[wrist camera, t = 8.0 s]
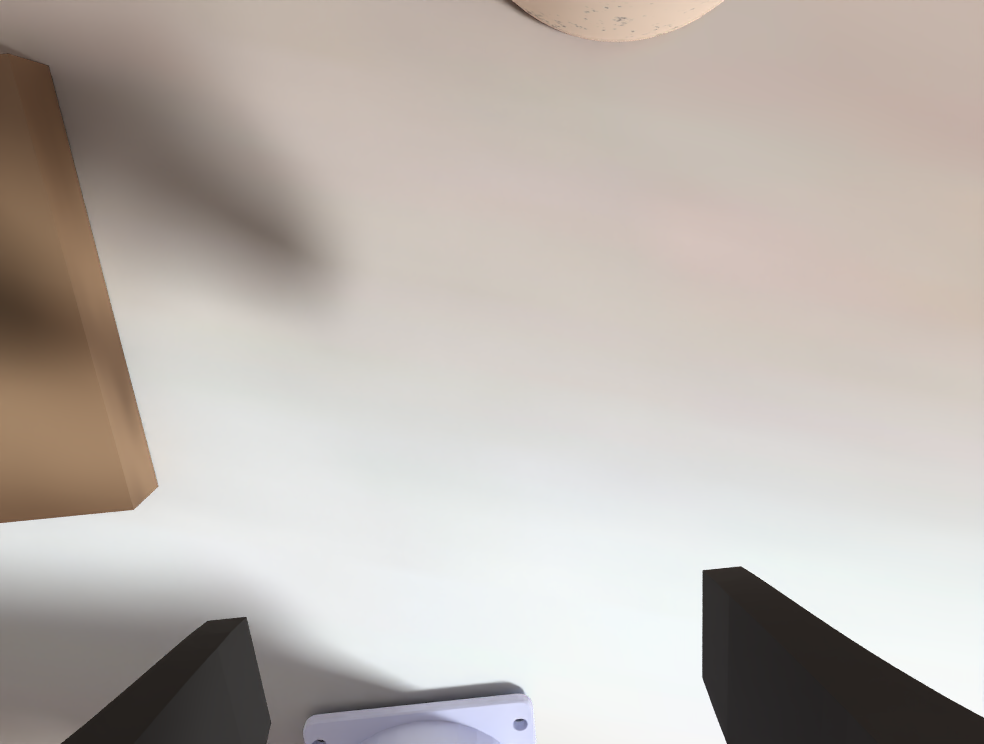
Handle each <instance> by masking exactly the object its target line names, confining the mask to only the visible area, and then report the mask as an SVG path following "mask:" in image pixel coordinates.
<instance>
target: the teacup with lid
mask: <svg viewBox="0 0 984 744" xmlns="http://www.w3.org/2000/svg"><path fill="white" fill-rule="evenodd" d="M512 1H514V2H515V3H516V4H517V5H518V6H520V7H521V8H522V9H523V10H524V11H526V12H527V13H529V14H530V15H532V16H533V17H535V18H536V19H538V20H539V21H541V22H543V23H545V24H547V25H549V26H551V27H552V28H554V29H557V30H559V31H562V32H565V33H567V34H570V35H573V36H577V37H581V38H584V39H590V40H597V41H607V42H625V41H636V40H642V39H647V38H652V37H655V36H659V35H662V34H666V33H669V32H671V31H673V30H676V29H678V28H681V27H683V26H685V25H687V24H689V23H691V22H693V21H695V20H697V19H698V18H700V17H701V16H703V15H704V14H706V13H708V12H709V11H711V10H712V9H713V8H715V7H716V6H717V5H719V4H720V3H721V2H723V1H724V0H512Z"/></svg>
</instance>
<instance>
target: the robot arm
mask: <svg viewBox="0 0 984 744" xmlns="http://www.w3.org/2000/svg"><path fill="white" fill-rule="evenodd" d="M702 678H703V681H704V683H705V686H706V689H707V692H708V695H709V697H710V700H711V703H712V706H713V708H714V711H715V714H716V716H717V719H718V722H719V724H720V727H721V729H722V732H723V735H724V737H725V740H726V742H727V744H984V718H983V717H982V716H980V715H978V714H976V713H974V712H972V711H970V710H968V709H967V708H965V707H963V706H961V705H959V704H957V703H956V702H954V701H952V700H950V699H948V698H947V697H945V696H943V695H941V694H940V693H938V692H936V691H935V690H933V689H931V688H929V687H928V686H926V685H924V684H923V683H921V682H919V681H918V680H916V679H914V678H912V677H911V676H909V675H907V674H906V673H904V672H902V671H901V670H899V669H897V668H895V667H894V666H892V665H891V664H889V663H887V662H886V661H884V660H882V659H881V658H879V657H878V656H876V655H874V654H873V653H871V652H870V651H868V650H866V649H865V648H863V647H862V646H860V645H859V644H857V643H855V642H854V641H852V640H851V639H849V638H848V637H846V636H845V635H843V634H842V633H840V632H839V631H837V630H835V629H834V628H832V627H831V626H829V625H828V624H826V623H825V622H823V621H822V620H820V619H819V618H817V617H816V616H814V615H813V614H811V613H810V612H809V611H807V610H806V609H804V608H803V607H801V606H800V605H798V604H797V603H795V602H794V601H792V600H791V599H789V598H788V597H786V596H785V595H784V594H782V593H781V592H779V591H778V590H776V589H775V588H773V587H772V586H770V585H769V584H767V583H766V582H764V581H763V580H761V579H760V578H758V577H757V576H755V575H754V574H752V573H751V572H749V571H748V570H746V569H744V568H743V567H741V566H740V567H731V568H721V569H711V570H703V628H702ZM517 719H525V720H523V721H520V722H519V721H515V720H517ZM270 725H271V720H270V716H269V712H268V708H267V703H266V699H265V695H264V690H263V686H262V682H261V678H260V673H259V669H258V665H257V660H256V656H255V652H254V648H253V643H252V639H251V635H250V630H249V626H248V622H247V618H246V617H241V618H231V619H222V620H212V621H207V622H206V623H204V624H203V625H202V626H200V627H199V628H198V629H196V630H195V631H194V632H193V633H191V634H190V635H189V636H188V637H187V638H185V639H184V640H183V641H182V642H181V643H179V644H178V645H177V646H176V647H175V648H174V649H172V650H171V651H170V652H169V653H168V654H167V655H165V656H164V657H163V658H162V659H161V660H160V661H158V662H157V663H156V664H155V665H154V666H153V667H151V668H150V669H149V670H148V671H147V672H146V673H145V674H143V675H142V676H141V677H140V678H139V679H138V680H136V681H135V682H134V683H133V684H132V685H131V686H129V687H128V688H127V689H126V690H125V691H124V692H122V693H121V694H120V695H119V696H118V697H117V698H115V699H114V700H113V701H112V702H111V703H109V704H108V705H107V706H106V707H105V708H104V709H102V710H101V711H100V712H99V713H98V714H97V715H95V716H94V717H93V718H92V719H91V720H90V721H88V722H87V723H86V724H85V725H84V726H82V727H81V728H80V729H79V730H77V731H76V732H75V733H74V734H72V735H71V736H70V737H69V738H67V739H66V740H65V741H64V742H62V743H61V744H266V742H267V738H268V734H269V729H270ZM303 737H304V742H305V744H536V734H535V723H534V712H533V704H532V701H531V699H530V698H529V697H528V696H527V695H524V694H508V695H499V696H489V697H479V698H470V699H460V700H450V701H441V702H431V703H422V704H412V705H402V706H393V707H383V708H373V709H364V710H354V711H345V712H335V713H325V714H316V715H313V716H311V717H309V718H308V719H307V721H306V722H305V725H304V729H303ZM317 740H323V741H325V742H319V741H317Z"/></svg>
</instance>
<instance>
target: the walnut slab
mask: <svg viewBox="0 0 984 744" xmlns="http://www.w3.org/2000/svg"><path fill="white" fill-rule="evenodd" d="M157 487H158V483H157V480H156V476H155V472H154V468H153V464H152V460H151V457H150V453H149V449H148V445H147V441H146V437H145V434H144V430H143V426H142V422H141V418H140V414H139V411H138V407H137V403H136V399H135V395H134V391H133V388H132V384H131V380H130V376H129V372H128V368H127V365H126V361H125V357H124V353H123V349H122V345H121V342H120V338H119V334H118V330H117V326H116V322H115V319H114V315H113V311H112V307H111V303H110V299H109V296H108V292H107V288H106V284H105V280H104V276H103V273H102V269H101V265H100V261H99V257H98V253H97V250H96V246H95V242H94V238H93V234H92V230H91V227H90V223H89V219H88V215H87V211H86V207H85V204H84V200H83V196H82V192H81V188H80V184H79V181H78V177H77V173H76V169H75V165H74V162H73V158H72V154H71V150H70V146H69V142H68V139H67V135H66V131H65V127H64V123H63V119H62V116H61V112H60V108H59V104H58V100H57V96H56V93H55V89H54V85H53V81H52V77H51V73H50V70H49V66H47V65H44V64H41V63H38V62H34V61H31V60H28V59H24V58H21V57H18V56H15V55H11V54H8V53H7V54H0V523H6V522H16V521H26V520H36V519H46V518H56V517H66V516H76V515H86V514H96V513H106V512H116V511H126V510H134V509H135V508H136V507H137V506H138V505H139V504H140V503H141V502H142V501H143V500H144V499H146V498H147V497H148V496H149V495H150V494H151V493H152V492H153V491H154V490H155V489H156V488H157Z"/></svg>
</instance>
